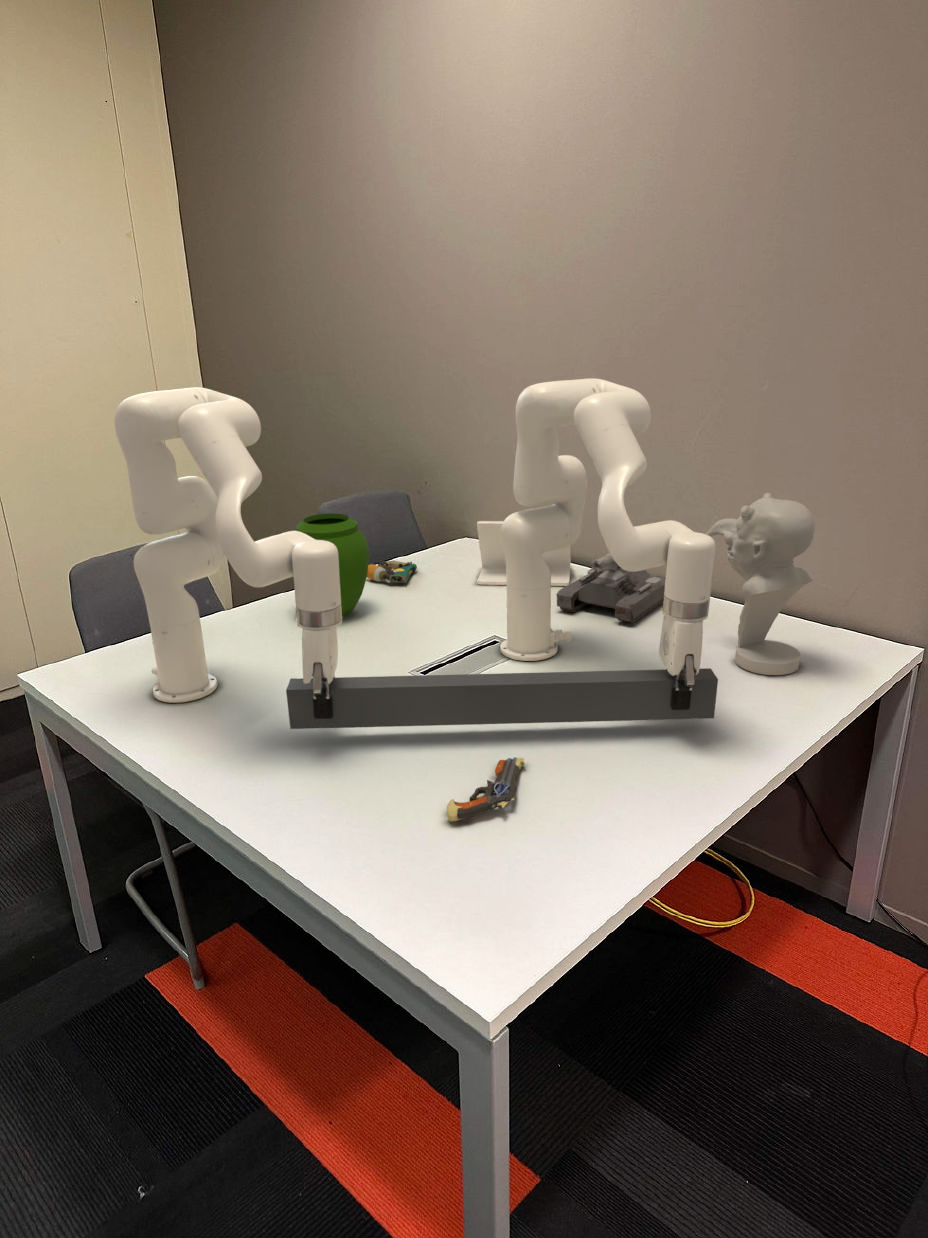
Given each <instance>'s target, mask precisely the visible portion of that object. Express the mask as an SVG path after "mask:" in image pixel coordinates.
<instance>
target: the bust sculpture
mask: <svg viewBox="0 0 928 1238" xmlns="http://www.w3.org/2000/svg"><path fill="white" fill-rule="evenodd" d="M815 527H816V526H815V520H814V517H813V515H812V513H811V510H809V509H808V508H807V507H806V506H805V505H804V504H802V503H800V502H798V501H796V500H790V499H780V498H774V497H773V494H772V493H770V492H765V493H763V495H762V497H761V498H759V499H757V500H756V501H754V502H752V503H751V504H750V505H743V506H742V507H741V509H740V515H739V517H738V518H737V519H736V518H723V519H719V520H718V521H716V522H715V523H714V524H713V525H712V526H711V528H710V529H709V530H708V531H706V532H705V534H706V535H709V536H710V537H715V536H723V537H724V543H725V544H726V545H727V548H726V549H725V554H726V556H727V560H728V562H729V564H730V565H731V568H732V569H733V571H734V572H736V573H737V574H738V575H739V576H740V577H741V578H742V579H744V581H745V582H744V583H743V585H742V588H741V593H742V597H743V599H744V601H745V602H744V605H743V607H742V609H741V612H740V615H739V623H738V625H737V626H738V627H737V645H736V646H735V654H734V661H735V664H736V665H737V666H738V667H740V668H741V669H744V670H746V671H748V672H750V673H754V674H759V675H766V676H783V675H790V674H792V673H794V672H796V671H798V669H799V668H800V661H801V652H800V651H799V649H797V648H796V647H795V646H792V645H790V644H788V643H784V642H781V641H776V640H769V639H766V637H767V635H768V634H769V631H770V630H771V627H772V626H773V624H774V622H775V620H776V619H777V617H778V616H779V614H780V612H781V611H782V610H783V608H784V607H785V606H786V604H787V603H788V601H790V599H791V597H793V596H794V595H795V594H796V593H797V592H798V591H799V590H801V589H802V588H803V587H805V586H806V585H807V584H809V583H811V582H813V581H814V580H813V579H812V577H811V575H810V574H809V573H808V572H807V571H806V570H805V569H803V568H802V567H799V566H798V567H797V566H795V565H794V563H795V560H794V559H795V558H796V557H799V556H800V555H802V554H803V553H805V552H806V551H807V550H808V549H809V547H810V546H811V544H812V542H813V541H814V537H815V529H816V528H815Z"/></svg>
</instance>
